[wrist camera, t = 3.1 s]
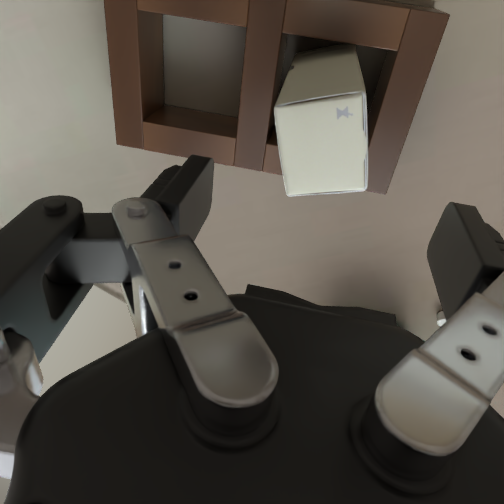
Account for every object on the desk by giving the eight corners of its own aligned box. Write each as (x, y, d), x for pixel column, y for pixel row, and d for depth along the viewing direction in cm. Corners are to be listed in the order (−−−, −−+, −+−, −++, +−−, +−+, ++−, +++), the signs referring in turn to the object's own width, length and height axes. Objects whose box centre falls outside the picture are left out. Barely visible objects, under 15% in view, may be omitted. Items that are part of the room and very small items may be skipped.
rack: (139, 126, 34) (116, 144, 30) (131, -38, 27) (99, -39, 24) (380, 170, 32) (385, 195, 29) (434, 8, 26) (450, 14, 22)
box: (293, 51, 29) (268, 98, 18) (356, 41, 28) (367, 83, 17) (301, 124, 31) (283, 200, 21) (359, 117, 30) (369, 193, 20)
